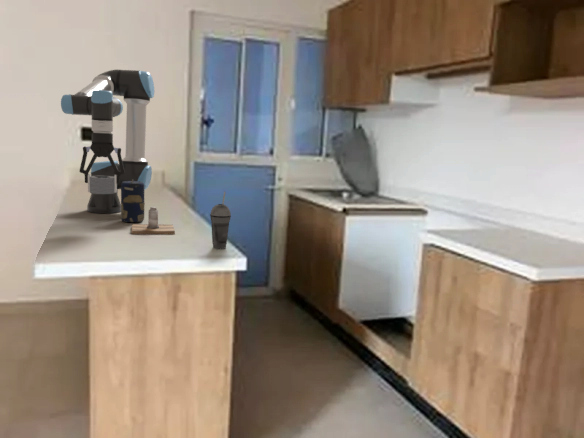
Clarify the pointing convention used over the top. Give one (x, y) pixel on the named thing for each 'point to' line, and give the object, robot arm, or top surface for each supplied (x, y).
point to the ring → (102, 184)
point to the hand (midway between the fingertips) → (102, 191)
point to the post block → (152, 225)
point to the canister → (132, 201)
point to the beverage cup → (220, 225)
